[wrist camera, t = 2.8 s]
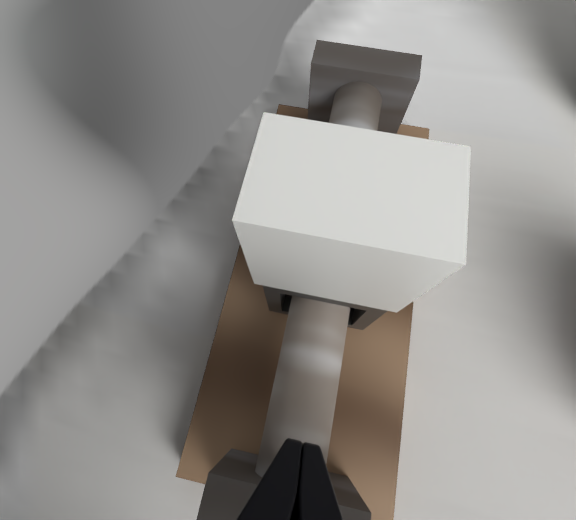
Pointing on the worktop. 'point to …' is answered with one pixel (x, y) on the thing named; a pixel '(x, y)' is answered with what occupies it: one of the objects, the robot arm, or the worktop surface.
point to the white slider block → (351, 215)
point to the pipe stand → (310, 342)
